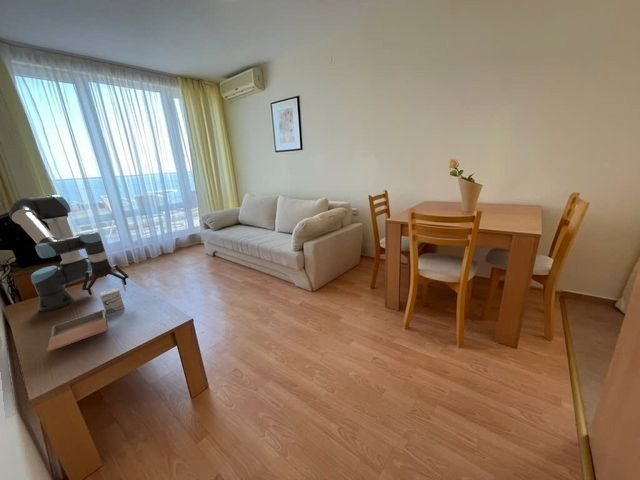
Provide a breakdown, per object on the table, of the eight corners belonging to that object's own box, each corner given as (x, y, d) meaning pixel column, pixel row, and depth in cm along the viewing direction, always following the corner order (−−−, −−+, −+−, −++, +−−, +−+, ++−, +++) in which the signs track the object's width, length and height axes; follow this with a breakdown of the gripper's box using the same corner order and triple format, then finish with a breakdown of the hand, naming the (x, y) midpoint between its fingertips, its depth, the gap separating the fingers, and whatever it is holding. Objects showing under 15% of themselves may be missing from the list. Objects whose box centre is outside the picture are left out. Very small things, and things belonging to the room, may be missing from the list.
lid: (47, 350, 107) (47, 352, 108) (106, 328, 120) (107, 330, 120) (50, 337, 117) (50, 339, 117) (105, 318, 130) (105, 320, 130)
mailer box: (55, 333, 128) (52, 326, 127) (106, 316, 141) (103, 309, 139) (54, 346, 119) (50, 338, 117) (108, 326, 131) (105, 319, 130)
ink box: (106, 314, 143) (100, 295, 139) (105, 311, 146) (99, 292, 143) (124, 307, 149) (119, 289, 145) (123, 304, 152) (117, 287, 148)
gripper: (67, 269, 127) (81, 306, 134) (127, 255, 143) (137, 288, 150) (67, 265, 133) (81, 301, 139) (125, 252, 149) (135, 284, 155)
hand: (110, 294), depth 144 cm, fingers open, 13 cm apart
